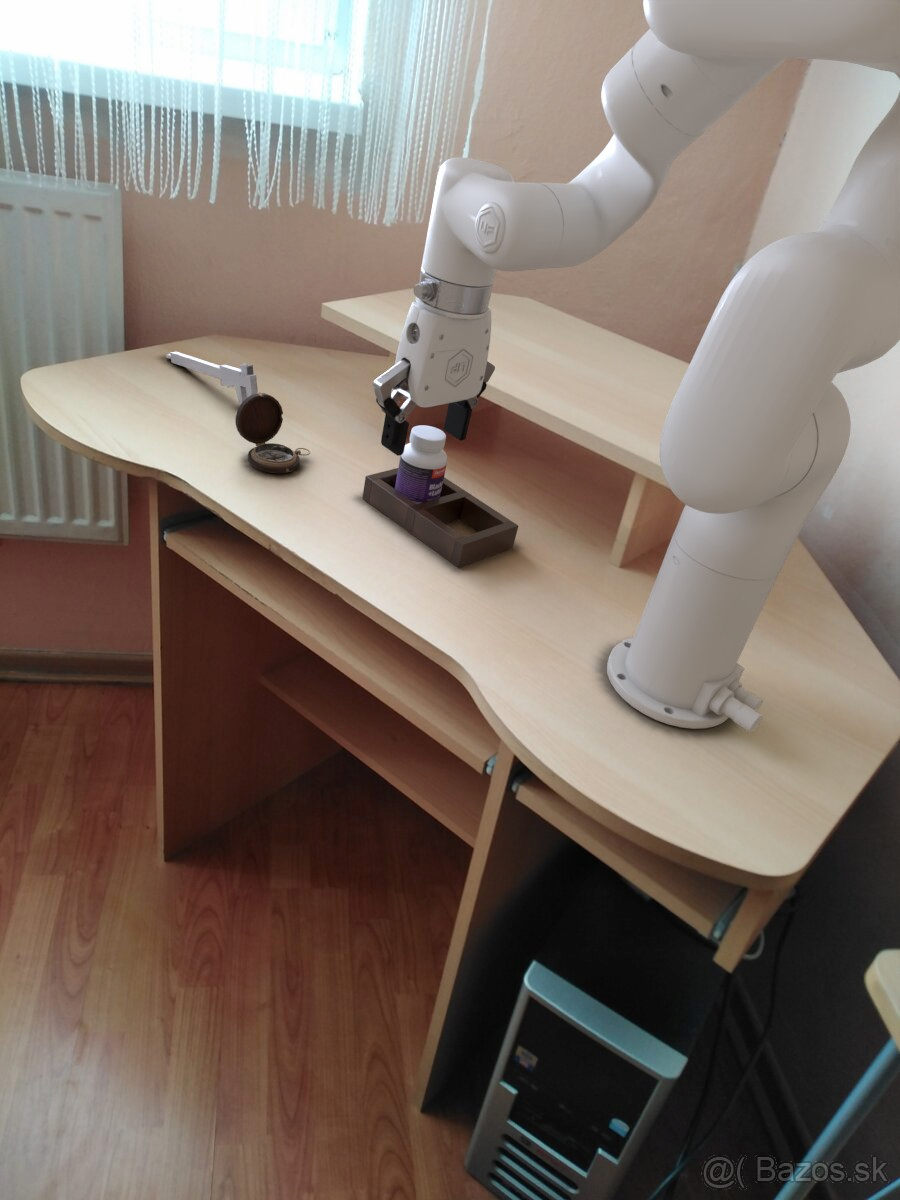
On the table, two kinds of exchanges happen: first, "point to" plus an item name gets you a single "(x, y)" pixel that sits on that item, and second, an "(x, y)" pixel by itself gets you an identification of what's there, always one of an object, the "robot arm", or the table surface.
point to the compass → (265, 434)
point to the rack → (443, 519)
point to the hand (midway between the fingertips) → (423, 442)
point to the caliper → (221, 373)
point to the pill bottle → (422, 465)
